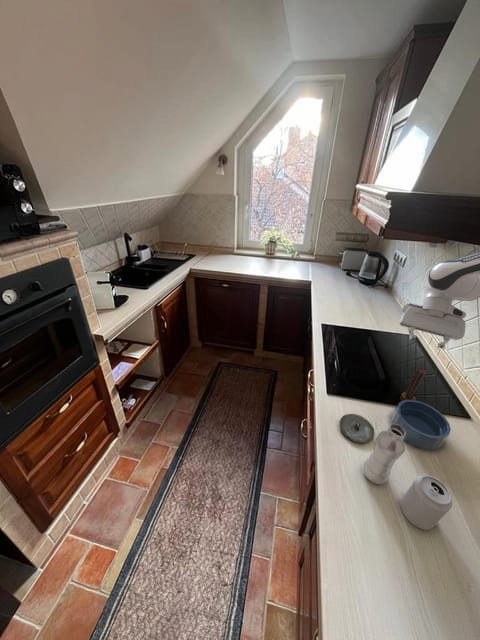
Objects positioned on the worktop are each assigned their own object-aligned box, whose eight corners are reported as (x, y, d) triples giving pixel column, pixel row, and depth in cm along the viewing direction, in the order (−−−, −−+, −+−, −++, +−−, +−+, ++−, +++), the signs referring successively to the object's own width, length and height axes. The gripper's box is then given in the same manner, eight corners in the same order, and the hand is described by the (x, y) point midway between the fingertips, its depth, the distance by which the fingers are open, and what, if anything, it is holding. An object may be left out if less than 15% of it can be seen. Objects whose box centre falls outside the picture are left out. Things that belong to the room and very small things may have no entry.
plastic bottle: (357, 475, 72) (378, 430, 61) (367, 458, 76) (388, 414, 66) (380, 493, 68) (407, 448, 58) (389, 475, 72) (416, 430, 62)
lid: (372, 430, 86) (376, 417, 85) (373, 449, 77) (377, 436, 76) (339, 419, 90) (342, 407, 89) (336, 436, 81) (340, 422, 80)
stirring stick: (410, 397, 97) (426, 367, 89) (415, 407, 93) (432, 376, 86) (397, 395, 98) (412, 366, 90) (402, 405, 94) (417, 374, 86)
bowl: (428, 415, 90) (436, 403, 87) (450, 454, 78) (460, 441, 74) (385, 409, 92) (390, 396, 89) (399, 446, 79) (407, 433, 76)
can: (440, 523, 62) (463, 499, 56) (419, 537, 60) (441, 513, 54) (412, 492, 68) (431, 467, 62) (392, 503, 66) (409, 478, 60)
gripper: (408, 299, 96) (398, 333, 94) (471, 314, 90) (463, 351, 88) (401, 303, 102) (392, 336, 100) (460, 318, 96) (452, 353, 94)
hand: (426, 343), depth 94 cm, fingers open, 8 cm apart
